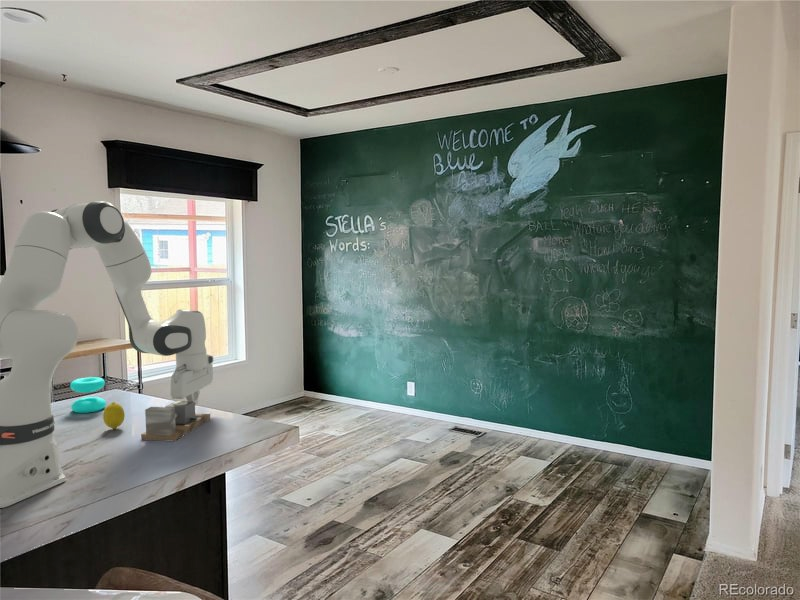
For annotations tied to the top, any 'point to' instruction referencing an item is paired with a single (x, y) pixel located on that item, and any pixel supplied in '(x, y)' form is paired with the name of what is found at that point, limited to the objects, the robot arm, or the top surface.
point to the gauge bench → (179, 429)
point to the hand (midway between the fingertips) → (193, 405)
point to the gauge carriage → (183, 411)
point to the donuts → (89, 402)
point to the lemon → (113, 415)
